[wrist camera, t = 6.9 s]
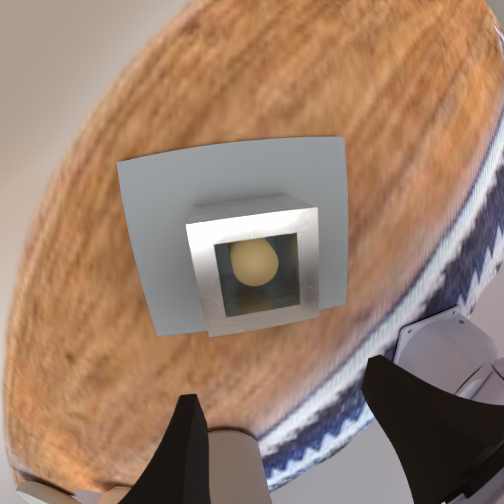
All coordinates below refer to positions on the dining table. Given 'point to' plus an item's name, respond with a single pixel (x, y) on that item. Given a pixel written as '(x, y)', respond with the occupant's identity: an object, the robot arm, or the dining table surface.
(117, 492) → the lidded bowl
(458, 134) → the dining table surface
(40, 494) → the serving bowl
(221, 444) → the can
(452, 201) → the dining table surface
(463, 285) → the dining table surface
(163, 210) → the post block
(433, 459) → the robot arm
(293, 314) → the collar
